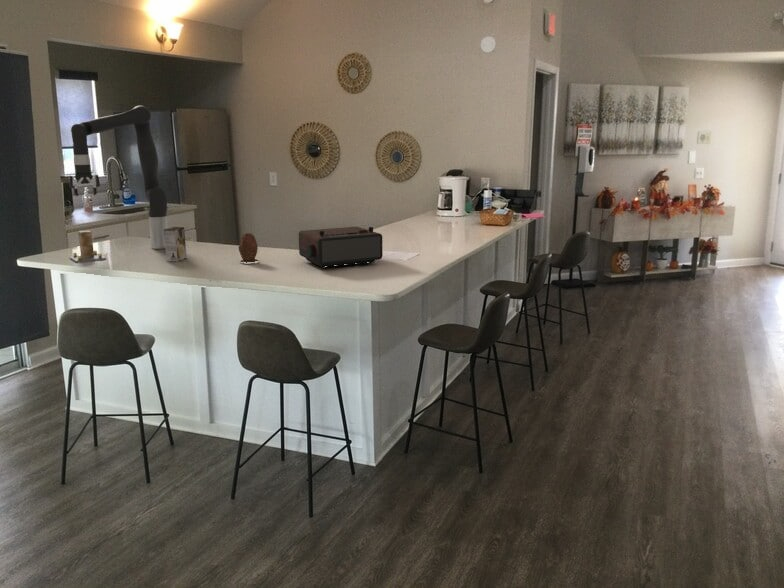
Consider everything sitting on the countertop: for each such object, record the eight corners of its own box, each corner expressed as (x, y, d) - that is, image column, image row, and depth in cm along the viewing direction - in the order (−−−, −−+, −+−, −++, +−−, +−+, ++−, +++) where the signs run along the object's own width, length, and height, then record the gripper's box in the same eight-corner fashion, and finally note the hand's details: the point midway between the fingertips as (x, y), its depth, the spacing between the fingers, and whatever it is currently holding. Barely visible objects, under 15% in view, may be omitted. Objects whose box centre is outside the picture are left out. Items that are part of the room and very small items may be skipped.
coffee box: (175, 258, 344) (172, 226, 340) (187, 258, 343) (184, 226, 339) (166, 261, 335) (163, 229, 331) (177, 262, 334) (175, 229, 330)
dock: (99, 255, 351) (98, 249, 350) (106, 259, 340) (105, 253, 339) (69, 258, 343) (69, 252, 342) (76, 262, 332) (75, 256, 331)
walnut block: (91, 255, 345) (88, 230, 342) (94, 257, 341) (91, 231, 338) (81, 256, 342) (78, 231, 339) (83, 258, 338) (80, 232, 335)
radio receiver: (314, 272, 310) (313, 233, 306) (294, 262, 333) (293, 226, 329) (383, 265, 326) (382, 228, 322) (359, 256, 349) (358, 221, 345)
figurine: (239, 262, 336) (239, 231, 334) (260, 262, 337) (259, 232, 335) (237, 264, 327) (236, 233, 325) (258, 264, 328) (258, 233, 326)
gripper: (68, 164, 340) (72, 197, 344) (98, 163, 348) (102, 195, 352) (65, 163, 346) (69, 195, 350) (95, 162, 354) (98, 194, 358)
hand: (85, 195), depth 351 cm, fingers open, 8 cm apart
